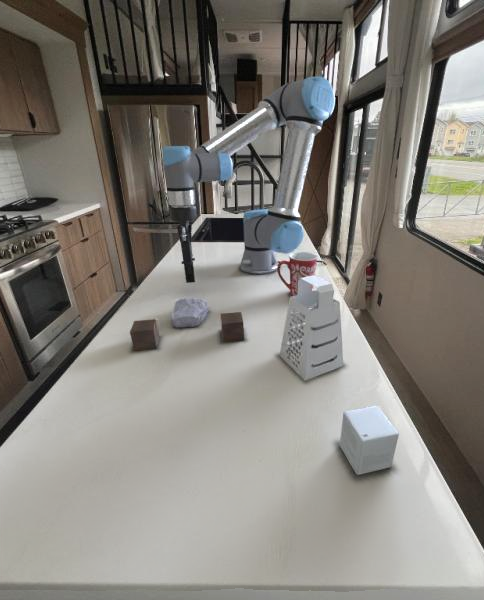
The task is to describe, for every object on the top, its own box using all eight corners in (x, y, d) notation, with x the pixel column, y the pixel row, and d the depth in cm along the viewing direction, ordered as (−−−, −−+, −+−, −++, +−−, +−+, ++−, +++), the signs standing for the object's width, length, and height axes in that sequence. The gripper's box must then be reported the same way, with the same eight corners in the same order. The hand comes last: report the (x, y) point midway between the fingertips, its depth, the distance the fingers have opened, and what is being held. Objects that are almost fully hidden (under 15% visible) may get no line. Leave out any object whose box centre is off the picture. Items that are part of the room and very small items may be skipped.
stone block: (208, 312, 101) (175, 308, 100) (209, 298, 99) (176, 294, 98) (205, 333, 91) (169, 329, 89) (207, 319, 89) (170, 314, 87)
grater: (305, 380, 69) (310, 295, 60) (279, 355, 77) (280, 277, 68) (343, 365, 73) (353, 284, 64) (315, 343, 81) (320, 268, 73)
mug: (313, 288, 112) (315, 251, 106) (316, 300, 104) (319, 260, 98) (276, 289, 112) (277, 251, 106) (277, 300, 104) (277, 260, 98)
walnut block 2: (241, 329, 88) (241, 311, 86) (244, 340, 83) (243, 321, 81) (221, 331, 88) (220, 313, 85) (222, 342, 83) (221, 323, 80)
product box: (392, 468, 50) (400, 434, 47) (356, 476, 49) (361, 442, 46) (371, 437, 55) (377, 404, 52) (338, 443, 54) (342, 410, 51)
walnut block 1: (159, 337, 86) (156, 318, 83) (156, 348, 81) (153, 329, 78) (138, 339, 85) (134, 320, 83) (134, 350, 80) (129, 331, 78)
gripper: (170, 202, 98) (179, 275, 108) (166, 210, 86) (177, 290, 96) (195, 201, 99) (202, 273, 109) (194, 208, 87) (202, 289, 97)
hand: (190, 281), depth 103 cm, fingers closed
